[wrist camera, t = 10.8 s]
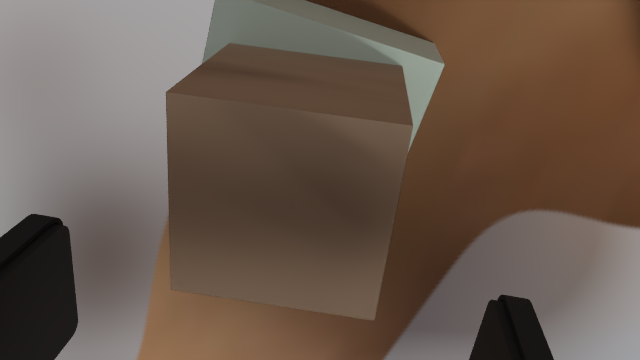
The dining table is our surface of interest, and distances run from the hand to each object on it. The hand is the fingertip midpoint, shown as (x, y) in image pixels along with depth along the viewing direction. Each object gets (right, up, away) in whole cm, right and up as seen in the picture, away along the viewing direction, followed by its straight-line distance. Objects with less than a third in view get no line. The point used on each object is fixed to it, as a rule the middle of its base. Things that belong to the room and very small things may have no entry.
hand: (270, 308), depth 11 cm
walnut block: (+1, +4, +8) cm, 9 cm away
